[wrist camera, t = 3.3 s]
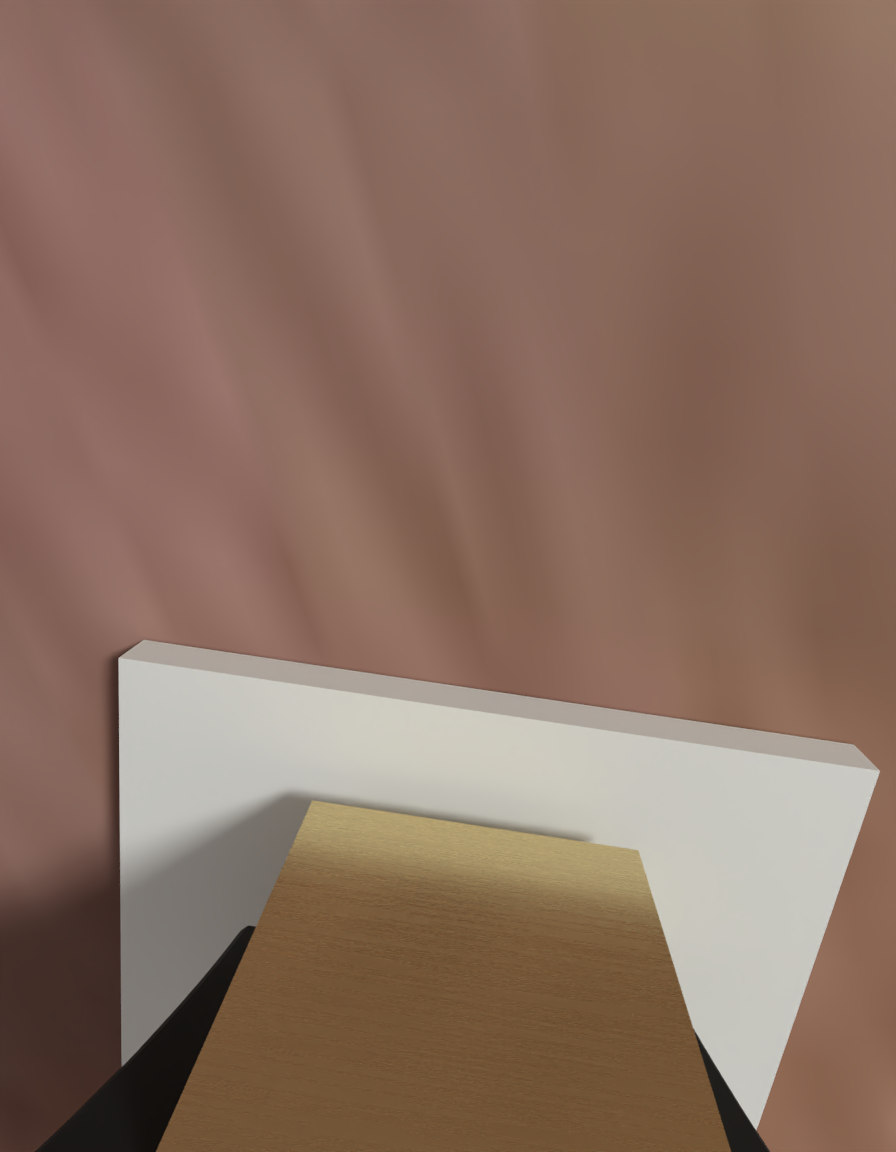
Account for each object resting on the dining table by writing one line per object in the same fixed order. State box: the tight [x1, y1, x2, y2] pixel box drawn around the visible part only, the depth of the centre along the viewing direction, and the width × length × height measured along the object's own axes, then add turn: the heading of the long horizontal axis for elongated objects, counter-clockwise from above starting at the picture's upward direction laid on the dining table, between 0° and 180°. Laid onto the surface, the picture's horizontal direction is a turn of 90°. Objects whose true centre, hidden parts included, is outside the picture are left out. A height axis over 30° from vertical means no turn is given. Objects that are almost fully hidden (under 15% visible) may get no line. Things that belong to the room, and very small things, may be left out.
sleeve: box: [156, 800, 731, 1152], centre depth 9 cm, size 5×5×5 cm
